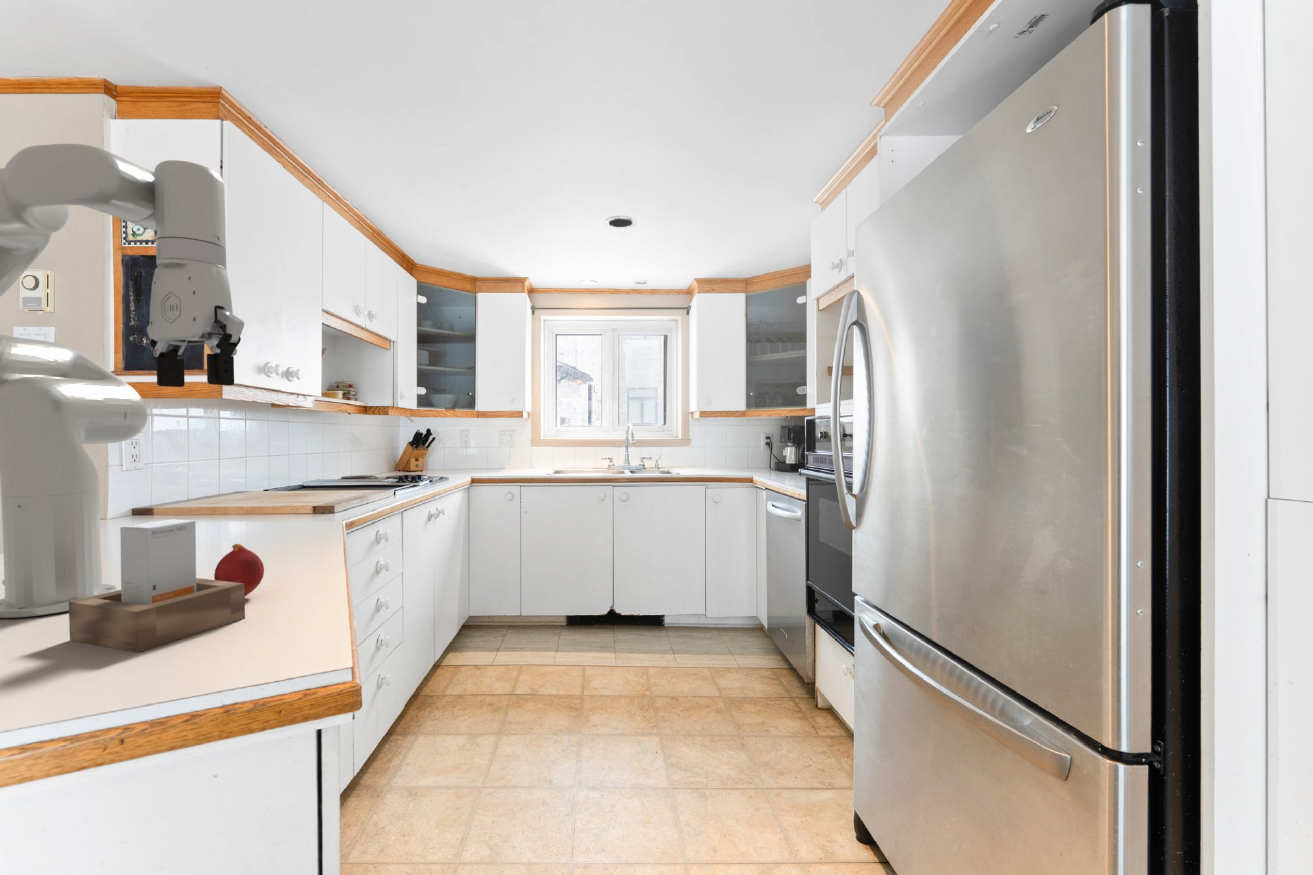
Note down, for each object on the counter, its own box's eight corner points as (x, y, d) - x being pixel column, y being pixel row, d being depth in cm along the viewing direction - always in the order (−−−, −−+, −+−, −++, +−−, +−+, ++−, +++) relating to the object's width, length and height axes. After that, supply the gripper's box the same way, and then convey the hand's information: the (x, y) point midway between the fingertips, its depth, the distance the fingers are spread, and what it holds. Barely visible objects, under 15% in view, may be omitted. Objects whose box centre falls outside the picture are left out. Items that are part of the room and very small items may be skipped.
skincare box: (147, 630, 70) (144, 528, 69) (120, 627, 71) (117, 526, 70) (199, 613, 76) (197, 519, 75) (173, 611, 77) (171, 518, 76)
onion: (241, 591, 89) (240, 538, 89) (274, 594, 88) (273, 540, 87) (204, 603, 83) (203, 546, 83) (238, 606, 82) (237, 548, 82)
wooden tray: (69, 640, 69) (68, 601, 69) (180, 609, 81) (179, 576, 81) (138, 652, 66) (137, 611, 65) (245, 618, 77) (244, 583, 77)
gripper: (118, 258, 80) (121, 385, 81) (208, 245, 75) (212, 382, 75) (178, 271, 87) (181, 388, 88) (265, 260, 82) (268, 385, 82)
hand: (195, 385), depth 81 cm, fingers open, 9 cm apart
